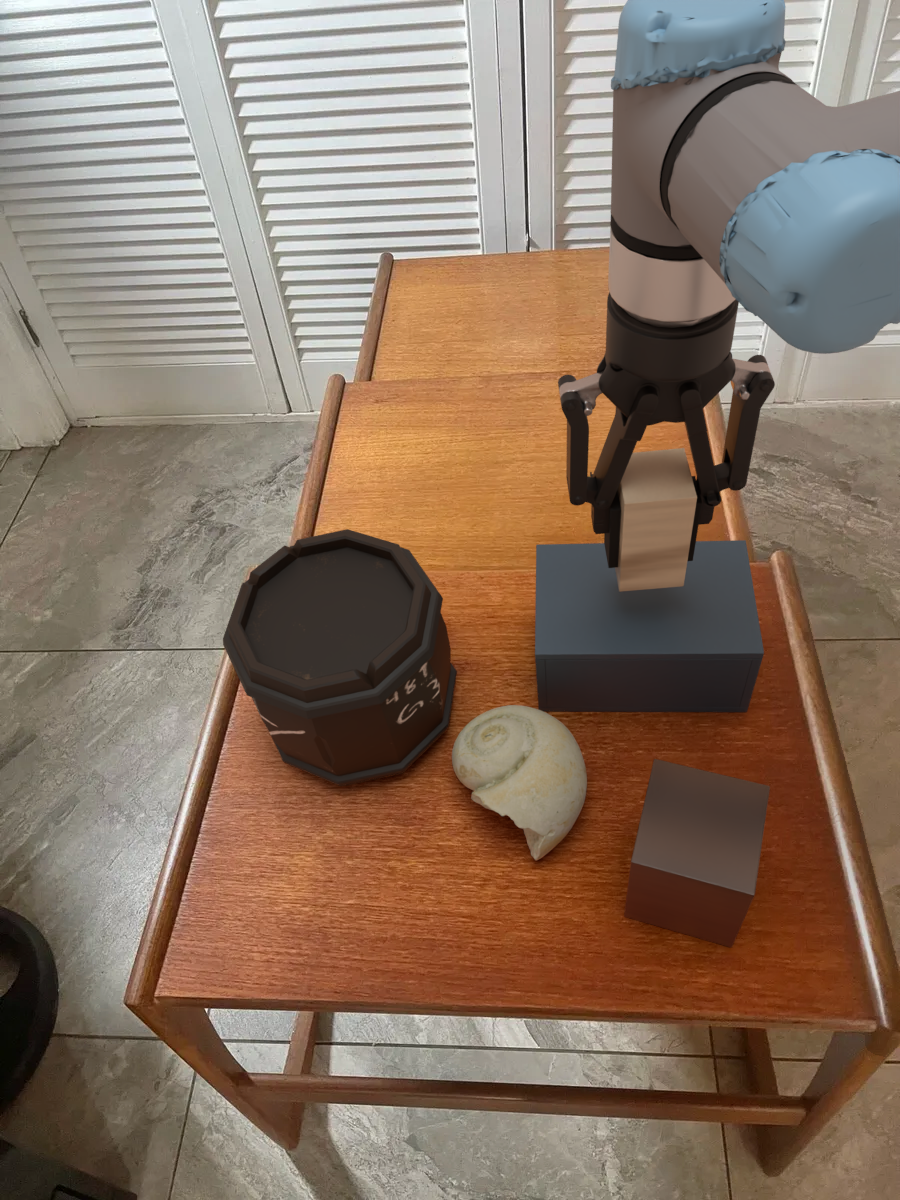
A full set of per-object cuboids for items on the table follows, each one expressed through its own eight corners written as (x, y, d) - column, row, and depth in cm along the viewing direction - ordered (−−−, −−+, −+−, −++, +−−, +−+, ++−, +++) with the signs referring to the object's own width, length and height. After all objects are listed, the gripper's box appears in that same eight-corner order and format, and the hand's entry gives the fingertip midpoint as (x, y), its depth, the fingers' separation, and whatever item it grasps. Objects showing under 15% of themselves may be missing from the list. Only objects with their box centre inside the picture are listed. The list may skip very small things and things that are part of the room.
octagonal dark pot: (289, 622, 90) (244, 515, 78) (468, 631, 87) (450, 520, 75) (240, 788, 79) (178, 694, 67) (441, 804, 76) (415, 709, 64)
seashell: (426, 720, 73) (535, 661, 74) (445, 753, 80) (545, 699, 80) (499, 861, 66) (618, 795, 67) (513, 884, 73) (621, 824, 74)
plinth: (731, 948, 67) (754, 895, 58) (623, 916, 69) (630, 862, 60) (746, 848, 71) (770, 785, 62) (645, 821, 73) (654, 758, 65)
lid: (536, 549, 81) (536, 544, 80) (744, 545, 79) (745, 540, 78) (535, 659, 74) (534, 654, 73) (762, 658, 72) (764, 653, 71)
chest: (539, 614, 87) (536, 559, 81) (732, 612, 85) (745, 555, 78) (538, 711, 81) (535, 660, 74) (747, 712, 78) (762, 659, 72)
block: (683, 586, 70) (697, 497, 62) (619, 592, 71) (624, 503, 63) (672, 538, 73) (684, 447, 66) (610, 543, 74) (614, 454, 66)
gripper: (814, 237, 54) (754, 505, 72) (513, 271, 55) (528, 526, 74) (851, 312, 49) (777, 578, 68) (522, 347, 51) (536, 598, 69)
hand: (647, 550), depth 71 cm, fingers closed on block, 5 cm apart
